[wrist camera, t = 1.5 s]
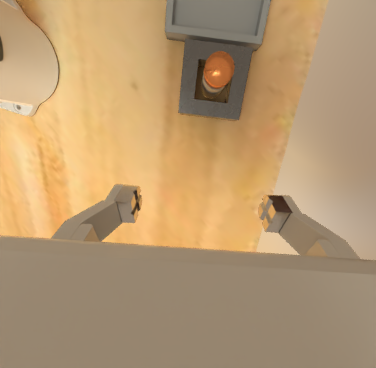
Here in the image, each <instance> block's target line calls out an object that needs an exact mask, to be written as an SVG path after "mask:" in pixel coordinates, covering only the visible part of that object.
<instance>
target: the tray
mask: <svg viewBox="0 0 376 368" xmlns="http://www.w3.org/2000/svg"><path fill="white" fill-rule="evenodd" d="M270 2H271V0H167V6H166V23H165V33H166V37H167V39H169V40H176V41H184V42H185V39H192V40H200V41H207V42H215V43H223V44H230V45H238V46H245V47H253V51H256V50H257V49H258V48H259V47H260V45H261V44H262V40H263V35H264V30H265V25H266V21H267V16H268V11H269V6H270Z"/></svg>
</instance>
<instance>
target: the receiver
mask: <svg viewBox="0 0 376 368" xmlns="http://www.w3.org/2000/svg"><path fill="white" fill-rule="evenodd" d="M217 51H224V52H226V53H228V54H229V55H230V56H231V57H232V59H233V61H234V66H235V69H234V74H233V76H232V78H231V80H230V81H229V82H228V86H227V92H226V98H225V103H222V102H214V101H206V100H198V99H194V96H195V88H196V79H197V71H198V67H205V64H206V61H207V59H208V58H209V56H210V55H211V54H213V53H215V52H217ZM252 51H253V47H245V46H238V45H230V44H223V43H215V42H207V41H200V40H192V39H185V47H184V58H183V69H182V80H181V91H180V101H179V112H178V113H179V114H182V115H190V116H198V117H206V118H214V119H222V120H230V121H237V120H239V116H240V111H241V106H242V101H243V96H244V91H245V86H246V81H247V76H248V71H249V66H250V61H251V56H252Z"/></svg>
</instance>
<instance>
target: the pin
mask: <svg viewBox="0 0 376 368" xmlns="http://www.w3.org/2000/svg"><path fill="white" fill-rule="evenodd" d="M234 69H235V66H234V61H233V59H232V57H231V56H230V55H229V54H228V53H226V52H224V51H217V52H215V53H213V54H211V55H210V56H209V58H208V59H207V61H206V64H205V68H204V73H203V78H202V83H201V91H202V93H203V95H204V96H205V97H207V98H215V97H217V96H218V95H219V94H220V93H221V91H222V90H223V89H224V87H225V86H226V85H227V83H228V82H229V81H230V80H231V78H232V76H233V74H234Z"/></svg>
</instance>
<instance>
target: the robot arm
mask: <svg viewBox="0 0 376 368" xmlns="http://www.w3.org/2000/svg"><path fill="white" fill-rule="evenodd" d="M57 81H58V62H57V58H56V55H55V52H54V49H53V47H52V45H51V43H50V41H49V40H48V38H47V37H46V35H45V34H44V33H43V32H42V30H41V29H40V28H39V27H38V26H37V25H35V24H34V23H33V22H32V21H31V20H30V19H28V18H27V16H26V15H25V14H24V12H23V10H22V9H21V7H20V6H19V4H18V3H17V2H16V0H0V108H3V109H6V110H9V111H12V112H15V113H18V114H21V115H25V116H33V115H34V114H35V112H36V110H37V108H38V106H39V105H40V104H41V103H42V102H44V101H45V100H47V99H48V98H49V97H50V96H51V95H52V93H53V92H54V90H55V88H56V85H57ZM20 107H21V109H20ZM140 191H141V190H140V187H139V186H133V185H121V184H116V185H114V187H113V188H112V190H111V192H110V193H109V195H108V196H107V198H106V199H105V201H101V202H99V203H97V204H95V205H93V206H92V207H90V208H88V209H86V210H84V211H83V212H81V213H79V214H77V215H75V216H74V217H72V218H70V219H68V220H67V221H65V222H64V223H63V224H62V225H61V227H60V228H59V229H58V230H57V232H56V233H55V234H54V235H53V237H52V238H51V239H48V238H33V237H18V236H3V235H0V368H376V260H363V259H360V258H359V257H358V256H357V254H356V253H355V252H354V250H353V249H352V248H351V247H350V246H349V244H348V243H347V242H346V241H345V240H344V239H342V238H341V237H339V236H338V235H336V234H334V233H333V232H332V231H330V230H328V229H327V228H325V227H324V226H322V225H321V224H319V223H318V222H316V221H314V220H313V219H311V218H310V217H308V216H307V215H305V214H302V213H301V211H300V210H299V208H298V207H297V205H296V204H295V203H294V201H293V200H292V198H291V197H290V196H286V195H279V196H278V195H264V196H263V198H262V200H263V202H262V203H261V204H260V205H259V209H258V213H259V217H260V218H261V219H262V220H263V222H262V224H263V227H264V229H265V232H275V233H279V234H280V235H281V236H282V237H283V238H284V239H285V240H286V241H287V242H288V243H289V244H290V245H291V246H292V247H293V248H294V249H295V250H296V251H297V252H298V253H299V254H300V255H289V254H288V255H287V254H274V253H258V252H244V251H229V250H214V249H199V248H184V247H169V246H154V245H139V244H124V243H109V242H101V241H102V240H103V239H104V238H106V237H107V236H108V235H109V234H110V233H111V232H112V231H114V230H115V229H116V228H117V227H118V226H119V225H120V224H122V222H124V223H135V222H136V220H137V217H138V211H139V210H140V209H141V205H142V196H141V195H140Z"/></svg>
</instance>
